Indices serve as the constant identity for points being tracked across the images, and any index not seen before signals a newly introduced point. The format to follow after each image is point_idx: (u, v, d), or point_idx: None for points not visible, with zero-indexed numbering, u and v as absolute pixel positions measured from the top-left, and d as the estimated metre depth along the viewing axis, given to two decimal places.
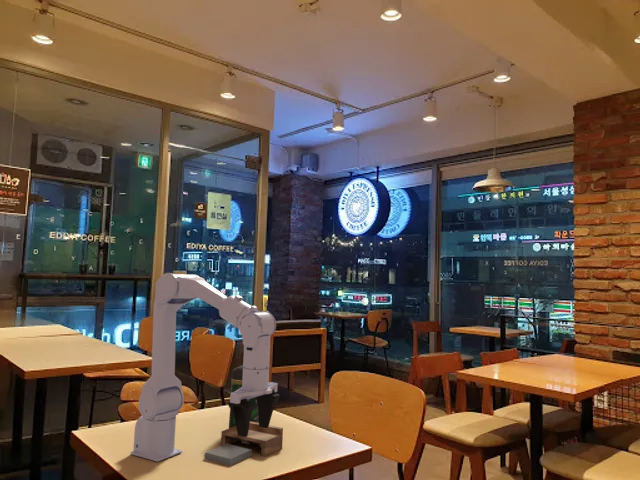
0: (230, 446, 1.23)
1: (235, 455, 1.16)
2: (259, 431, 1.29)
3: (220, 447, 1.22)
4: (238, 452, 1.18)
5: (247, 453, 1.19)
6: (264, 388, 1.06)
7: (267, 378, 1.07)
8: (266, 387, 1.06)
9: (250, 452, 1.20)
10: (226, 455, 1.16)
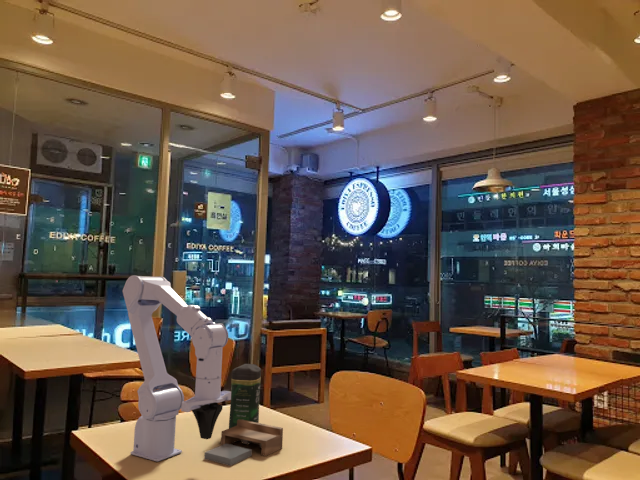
0: (230, 446, 1.23)
1: (235, 455, 1.16)
2: (259, 431, 1.29)
3: (220, 447, 1.22)
4: (238, 452, 1.18)
5: (247, 453, 1.19)
6: (215, 397, 1.11)
7: (218, 387, 1.13)
8: (217, 396, 1.12)
9: (250, 452, 1.20)
10: (226, 455, 1.16)
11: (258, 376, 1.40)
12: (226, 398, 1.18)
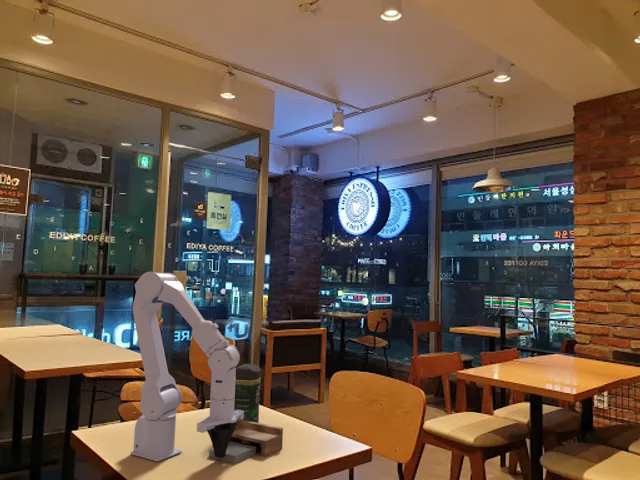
0: (235, 444, 1.24)
1: (239, 452, 1.18)
2: (259, 431, 1.29)
3: None
4: (242, 449, 1.20)
5: (252, 450, 1.21)
6: (229, 417, 1.16)
7: (232, 408, 1.17)
8: (231, 416, 1.16)
9: (254, 450, 1.22)
10: (230, 452, 1.18)
11: (258, 376, 1.40)
12: (239, 417, 1.22)
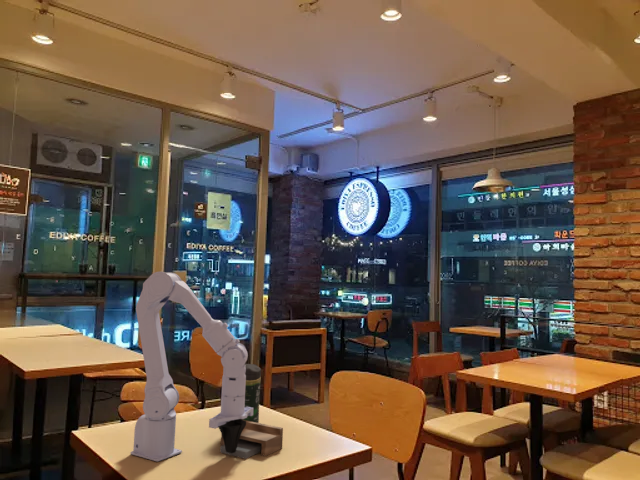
0: (245, 440, 1.27)
1: (250, 449, 1.21)
2: (259, 431, 1.29)
3: None
4: (252, 446, 1.23)
5: (261, 447, 1.24)
6: (240, 413, 1.19)
7: (243, 404, 1.20)
8: (242, 412, 1.20)
9: None
10: (241, 448, 1.21)
11: (258, 376, 1.40)
12: (249, 414, 1.26)
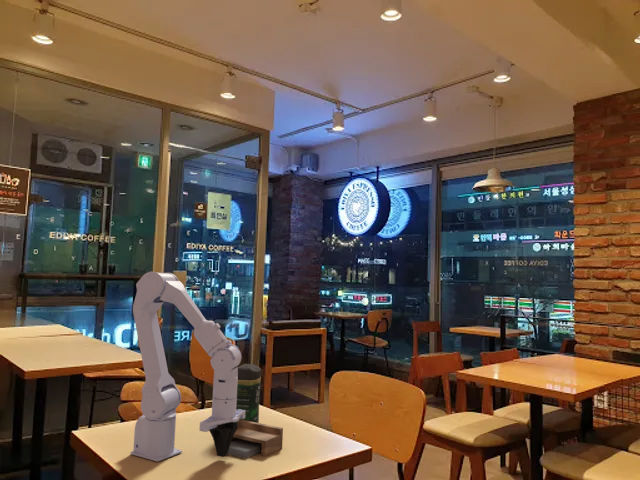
0: (245, 440, 1.28)
1: (250, 448, 1.21)
2: (259, 431, 1.29)
3: (235, 441, 1.27)
4: (253, 445, 1.24)
5: None
6: (231, 416, 1.16)
7: (234, 407, 1.17)
8: (233, 415, 1.17)
9: None
10: (241, 448, 1.21)
11: (258, 376, 1.40)
12: (241, 416, 1.23)
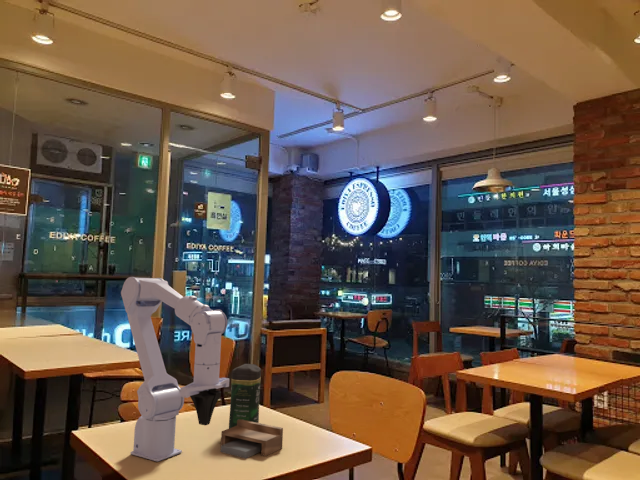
0: (245, 440, 1.28)
1: (250, 448, 1.21)
2: (259, 431, 1.29)
3: (235, 441, 1.27)
4: (253, 445, 1.23)
5: None
6: (214, 383, 1.11)
7: (217, 373, 1.12)
8: (216, 382, 1.12)
9: None
10: (241, 448, 1.21)
11: (258, 376, 1.40)
12: (224, 385, 1.18)
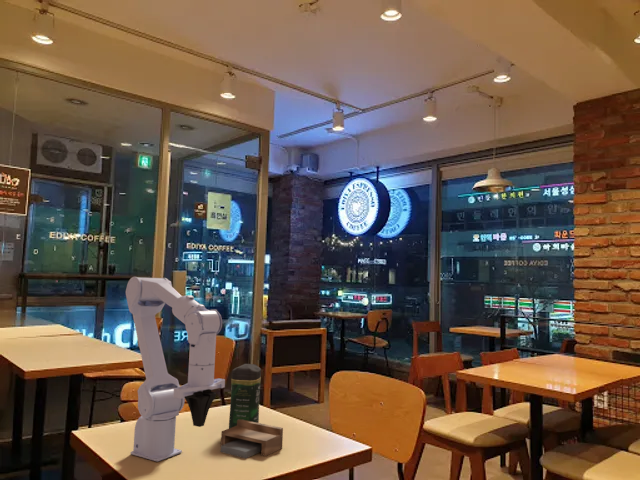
0: (245, 440, 1.28)
1: (250, 448, 1.21)
2: (259, 431, 1.29)
3: (235, 441, 1.27)
4: (253, 445, 1.23)
5: None
6: (208, 384, 1.10)
7: (212, 374, 1.11)
8: (211, 383, 1.10)
9: None
10: (241, 448, 1.21)
11: (258, 376, 1.40)
12: (220, 386, 1.16)
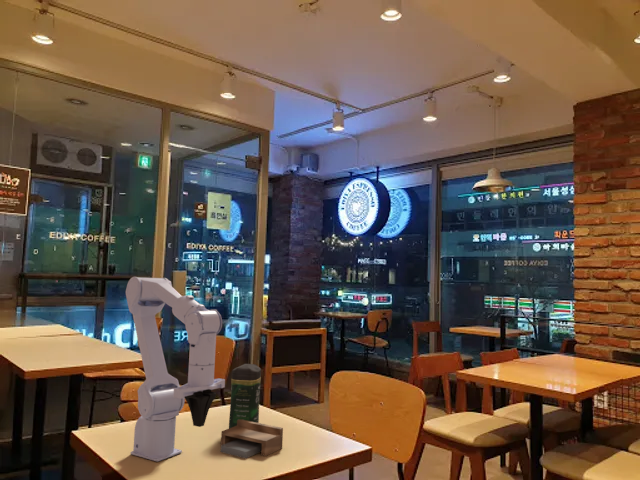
0: (245, 440, 1.28)
1: (250, 448, 1.21)
2: (259, 431, 1.29)
3: (235, 441, 1.27)
4: (253, 445, 1.23)
5: None
6: (208, 384, 1.10)
7: (212, 374, 1.11)
8: (211, 383, 1.10)
9: None
10: (241, 448, 1.21)
11: (258, 376, 1.40)
12: (220, 386, 1.16)
